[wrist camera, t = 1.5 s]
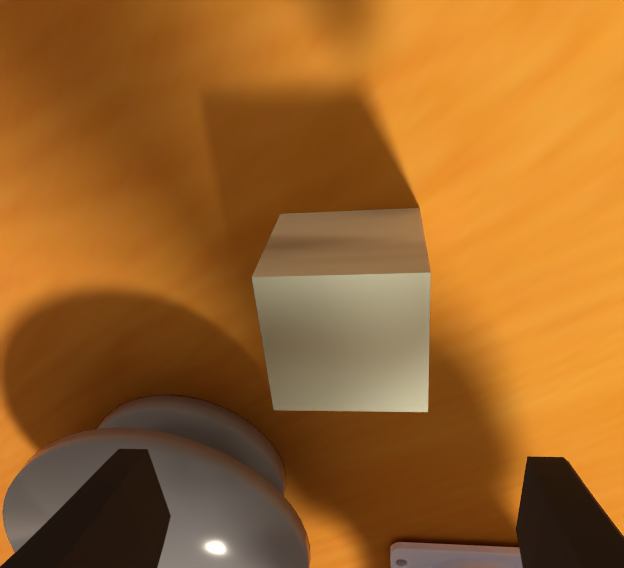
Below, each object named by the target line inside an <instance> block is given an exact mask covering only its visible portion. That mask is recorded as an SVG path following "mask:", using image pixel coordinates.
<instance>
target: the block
mask: <svg viewBox="0 0 624 568" xmlns="http://www.w3.org/2000/svg"><path fill="white" fill-rule="evenodd" d="M430 282H431V272H430V266H429V260H428V254H427V248H426V243H425V237H424V231H423V225H422V219H421V214H420V208H400V209H378V210H355V211H332V212H309V213H287V214H280V216H279V218H278V220H277V222H276V225H275V227H274V229H273V231H272V233H271V236H270V238H269V240H268V242H267V244H266V247H265V249H264V251H263V253H262V255H261V258H260V260H259V262H258V264H257V266H256V269H255V271H254V273H253V275H252V283H253V289H254V295H255V301H256V307H257V313H258V319H259V325H260V331H261V337H262V343H263V349H264V355H265V361H266V367H267V373H268V379H269V385H270V392H271V398H272V404H273V410H287V411H375V412H428V386H429V334H430Z"/></svg>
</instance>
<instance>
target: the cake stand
mask: <svg viewBox="0 0 624 568" xmlns="http://www.w3.org/2000/svg"><path fill="white" fill-rule="evenodd" d="M118 449H148V452H149V455H150V457H151V460H152V463H153V466H154V469H155V472H156V475H157V478H158V480H159V483H160V486H161V489H162V492H163V495H164V498H165V501H166V503H167V506H168V509H169V512H170V515H171V518H170V522H169V526H168V530H167V534H166V538H165V542H164V546H163V549H162V553H161V556H160V560H159V564H158V567H157V568H309V567H310V559H311V558H310V544H309V540H308V536H307V533H306V530H305V528H304V526H303V524H302V521H301V519H300V518H299V516H298V514H297V513H296V511H295V510H294V508H293V507H292V505H291V504H290V503H289V502H288V501H287V499H286V498H285V497H284V496H285V490H286V474H285V470H284V466H283V463H282V461H281V459H280V456H279V454H278V453H277V451H276V450H275V448H274V446H273V445H272V444H271V443H270V441H269V440H268V439H267V438H266V437H265V436H264V435H263V434H262V433H261V432H260V431H259V430H258V429H257V428H256V427H255V426H253V425H252V424H251V423H249V422H248V421H247V420H245V419H243V418H242V417H240V416H239V415H237V414H235V413H233V412H231V411H229V410H227V409H225V408H223V407H221V406H218V405H215V404H213V403H210V402H207V401H203V400H199V399H195V398H190V397H184V396H173V395H159V396H149V397H143V398H139V399H135V400H132V401H129V402H127V403H125V404H123V405H120V406H119V407H117V408H116V409H114V410H113V411H111V412H110V413H109V414H108V415H107V416H106V417H105V418H104V419H103V420H102V422H101V423H100V425H99V426H98V428H97V429H93V430H87V431H81V432H78V433H74V434H70V435H67V436H64V437H62V438H60V439H57V440H55V441H53V442H51V443H49V444H48V445H46V446H45V447H43V448H42V449H40V450H39V451H37V452H36V453H35V454H34V455H33V456H32V457H31V458H30V459H29V460H28V461H27V463H26V464H25V465H24V467H23V468H22V469H21V471H20V472H19V473H18V475H17V476H16V477H15V479H14V480H13V482H12V484H11V485H10V487H9V488H8V491H7V493H6V496H5V499H4V505H3V521H4V527H5V530H6V534H7V537H8V539H9V541H10V544H11V546H12V548H13V550H14V551H15V553H16V552H17V551H18V550H19V549H20V548H21V547H22V546H23V545H24V544H25V543H26V542H27V541H28V540H29V539H30V538H31V537H32V536H33V535H34V534H35V533H36V532H37V531H38V530H39V529H40V528H41V527H42V526H43V525H44V524H45V523H46V522H47V521H48V520H49V519H50V518H51V517H52V516H53V515H54V514H55V513H56V512H57V511H58V510H59V509H60V508H61V507H62V506H63V505H64V504H65V503H66V502H67V501H68V500H69V499H70V498H71V497H72V496H73V495H74V494H75V493H76V492H77V491H78V490H79V489H80V488H81V487H82V486H83V484H84V483H85V482H86V481H87V480H88V479H89V478H90V477H91V476H92V475H93V474H94V473H95V472H96V471H97V470H98V469H99V468H100V467H101V466H102V465H103V464H104V463H105V462H106V461H107V460H108V459H109V458H110V457H111V456H112V455H113V454H114V453H115V452H116V451H117V450H118Z"/></svg>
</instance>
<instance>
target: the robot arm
mask: <svg viewBox="0 0 624 568" xmlns="http://www.w3.org/2000/svg"><path fill="white" fill-rule="evenodd" d="M170 518H171V515H170V512H169V509H168V506H167V503H166V501H165V498H164V495H163V492H162V489H161V486H160V483H159V480H158V478H157V475H156V472H155V469H154V466H153V463H152V460H151V457H150V455H149V452H148V449H118V450H117V451H116V452H115V453H114V454H113V455H112V456H111V457H110V458H109V459H108V460H107V461H106V462H105V463H104V464H103V465H102V466H101V467H100V468H99V469H98V470H97V471H96V472H95V473H94V474H93V475H92V476H91V477H90V478H89V479H88V480H87V481H86V482H85V483H84V484H83V486H82V487H81V488H80V489H79V490H78V491H77V492H76V493H75V494H74V495H73V496H72V497H71V498H70V499H69V500H68V501H67V502H66V503H65V504H64V505H63V506H62V507H61V508H60V509H59V510H58V511H57V512H56V513H55V514H54V515H53V516H52V517H51V518H50V519H49V520H48V521H47V522H46V523H45V524H44V525H43V526H42V527H41V528H40V529H39V530H38V531H37V532H36V533H35V534H34V535H33V536H32V537H31V538H30V539H29V540H28V541H27V542H26V543H25V544H24V545H23V546H22V547H21V548H20V549H19V550H18V551H17V552H16V553H14V554H13V555H12V556H11V557H10V558H9V559H8V560H7V561H6V562H5V563H4V564H3V565H2V566H0V568H157V567H158V564H159V560H160V556H161V553H162V549H163V546H164V542H165V538H166V534H167V530H168V526H169V522H170ZM516 532H517V538H518V544H519V547H499V546H478V545H457V544H435V543H414V542H396V543H394V544H392V545H391V547H390V562H391V568H624V536H623V535H622V534H621V532H620V531H619V530H618V529H617V527H616V526H615V525H614V523H613V522H612V521H611V519H610V518H609V517H608V515H607V514H606V513H605V511H604V510H603V509H602V507H601V506H600V505H599V503H598V502H597V501H596V499H595V498H594V497H593V495H592V494H591V493H590V491H589V490H588V488H587V487H586V486H585V484H584V483H583V482H582V480H581V479H580V477H579V476H578V475H577V473H576V472H575V470H574V469H573V467H572V466H571V465H570V463H569V462H568V461H567V460H566V459H565V458H564V457H527V463H526V469H525V475H524V482H523V488H522V494H521V501H520V507H519V513H518V520H517V526H516Z"/></svg>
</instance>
